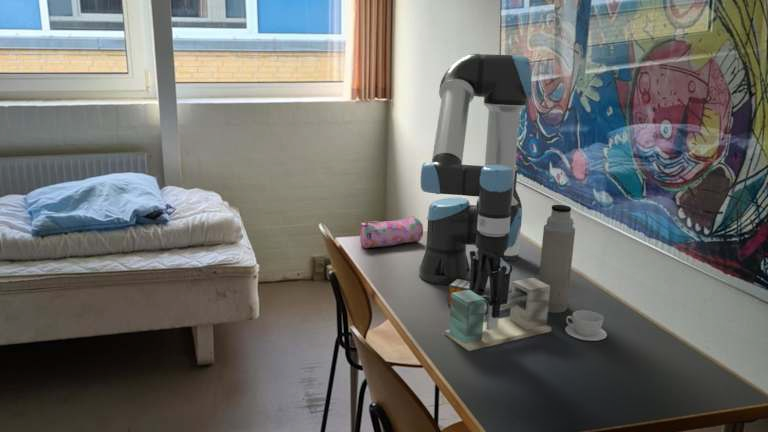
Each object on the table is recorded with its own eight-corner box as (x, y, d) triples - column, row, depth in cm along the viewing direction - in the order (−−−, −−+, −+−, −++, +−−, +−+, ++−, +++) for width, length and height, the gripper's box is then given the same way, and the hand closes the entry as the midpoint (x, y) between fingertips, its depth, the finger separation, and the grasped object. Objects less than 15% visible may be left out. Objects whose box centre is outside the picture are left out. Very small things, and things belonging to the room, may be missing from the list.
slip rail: (524, 316, 188) (528, 275, 185) (550, 331, 180) (555, 288, 176) (444, 334, 176) (447, 290, 173) (468, 350, 167) (472, 305, 164)
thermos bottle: (566, 303, 198) (576, 203, 190) (567, 314, 190) (578, 211, 183) (536, 300, 199) (545, 201, 192) (536, 311, 192) (546, 208, 184)
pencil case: (366, 252, 235) (367, 225, 233) (355, 244, 243) (356, 218, 240) (424, 245, 244) (426, 219, 242) (412, 237, 252) (413, 212, 250)
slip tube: (516, 303, 181) (517, 287, 180) (527, 309, 178) (528, 293, 176) (458, 315, 173) (459, 298, 171) (468, 321, 169) (469, 304, 168)
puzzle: (455, 298, 199) (456, 278, 197) (475, 302, 196) (477, 282, 194) (447, 306, 193) (448, 284, 192) (468, 310, 191) (469, 289, 189)
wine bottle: (489, 256, 234) (496, 165, 226) (500, 250, 241) (507, 162, 232) (512, 262, 230) (520, 169, 222) (523, 256, 236) (531, 165, 228)
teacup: (607, 329, 182) (610, 312, 181) (605, 345, 173) (607, 327, 172) (567, 322, 186) (569, 305, 184) (562, 338, 177) (564, 320, 175)
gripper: (458, 224, 174) (452, 314, 180) (503, 244, 160) (495, 341, 166) (483, 221, 178) (476, 309, 184) (529, 240, 163) (521, 335, 170)
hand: (485, 324), depth 175 cm, fingers closed on slip tube, 4 cm apart
